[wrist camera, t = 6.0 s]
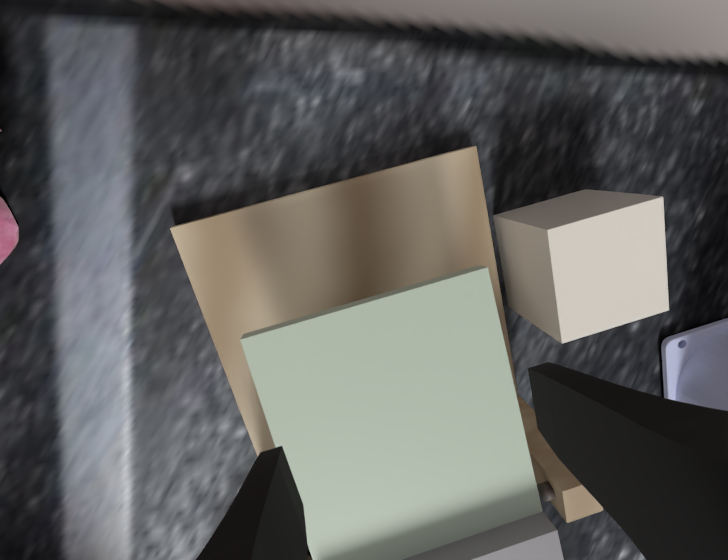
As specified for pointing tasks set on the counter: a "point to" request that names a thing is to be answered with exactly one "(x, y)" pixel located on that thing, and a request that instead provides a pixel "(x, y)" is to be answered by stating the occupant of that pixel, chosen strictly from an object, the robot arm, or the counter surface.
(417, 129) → the counter surface
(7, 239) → the flower
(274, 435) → the trapdoor
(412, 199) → the stand
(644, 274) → the cream cube
